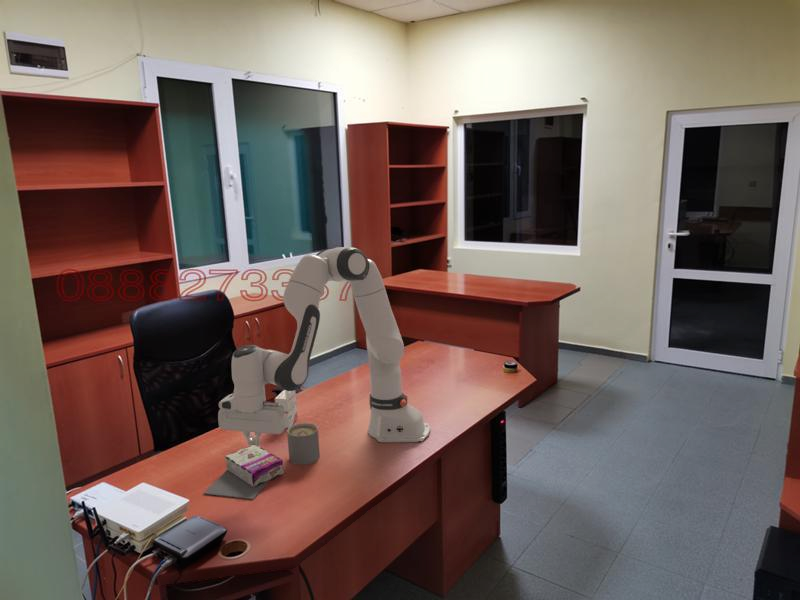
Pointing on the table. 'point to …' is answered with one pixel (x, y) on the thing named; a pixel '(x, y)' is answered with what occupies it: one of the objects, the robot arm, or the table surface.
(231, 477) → the mat
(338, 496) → the table surface
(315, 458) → the coffee mug
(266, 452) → the candy bar box
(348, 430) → the table surface
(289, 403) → the ink cartridge box
